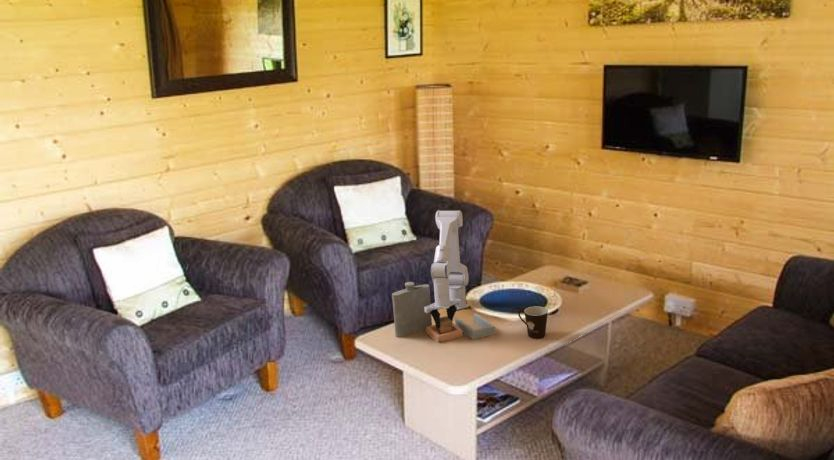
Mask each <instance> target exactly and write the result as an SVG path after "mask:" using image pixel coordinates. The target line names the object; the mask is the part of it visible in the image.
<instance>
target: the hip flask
mask: <svg viewBox="0 0 834 460" xmlns="http://www.w3.org/2000/svg"><path fill="white" fill-rule="evenodd" d="M404 287H405V288H404V289H403V288H402V289H401V290H398V291H395V292H392V293H391V299H392V310H393V320H394V321H393V323H394V335H395V337H396V338H399V339H400V338H403V337H406V336H409V335H410V334H411V335H412V334H414V333H418V332H421V331H424V330H425V331H426V327H428V326H432V325H433V317H432V315H431V313H430V312H429V313H426V312H425V311H424V307H426V306H428V305H431V304H432V303H431V292H430V289H431V288H430V285H429V284H427V283H425V284H419V285H415V282H413V281H407V282H405V283H404Z"/></svg>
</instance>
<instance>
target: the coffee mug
mask: <svg viewBox="0 0 834 460" xmlns="http://www.w3.org/2000/svg"><path fill="white" fill-rule="evenodd" d="M521 312H523V313H524V318H525V320H524V319H523V318H522V316H521ZM548 313H549V312H548V308H546V307H544V306H537V305H535V306H529V307H526V308H525V309H521V310H518V313H517V314H518V318H519V319H520V320H521V321H522V322H523V324H525V325H526V330H527V336H528V338H530V339H533V340H541V339H544V338H545V337H546V332H547V323H548Z"/></svg>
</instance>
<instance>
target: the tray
mask: <svg viewBox="0 0 834 460" xmlns="http://www.w3.org/2000/svg"><path fill="white" fill-rule="evenodd" d="M425 331H426V332H425V333H426V334H427V335H428V336H430V338H432V339H433V340H434V341H435V342H437V343H438V344H439V343H443V342H447V341H451V340H454V339H458V338H462V337H464V334H463V333H464V332H463V330H461V329H460V328H459V327H457V326H456V325H455V322H452V331H450V332H446V333H443V334H441V333H440V332H439V331H437V330H436V324H432V326H428V327H426V330H425Z"/></svg>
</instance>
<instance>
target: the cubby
mask: <svg viewBox="0 0 834 460" xmlns="http://www.w3.org/2000/svg"><path fill="white" fill-rule="evenodd" d="M473 321H474V322H475V323H476V324H477V325H478V326H480V327H481V328H478V329H473V328H472V327H471V326H469V325H468V324H467V323H465V322H464V321H463V320H461V319H460V318H458V317H457V318H454V324H455V325H456V326H457V327H459V328H460V329H461V330H463V333H464V334H465V335H467V336H468V337H470V338H471V339H472V340H475V339H480V338H483V337H487V336H492V335H495V334H496V326H495V325H493V324H492V323H491V322H489V321H488V320H487V319H485V318H483V317H482V316H481V315H480V314H478V313H473Z"/></svg>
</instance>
